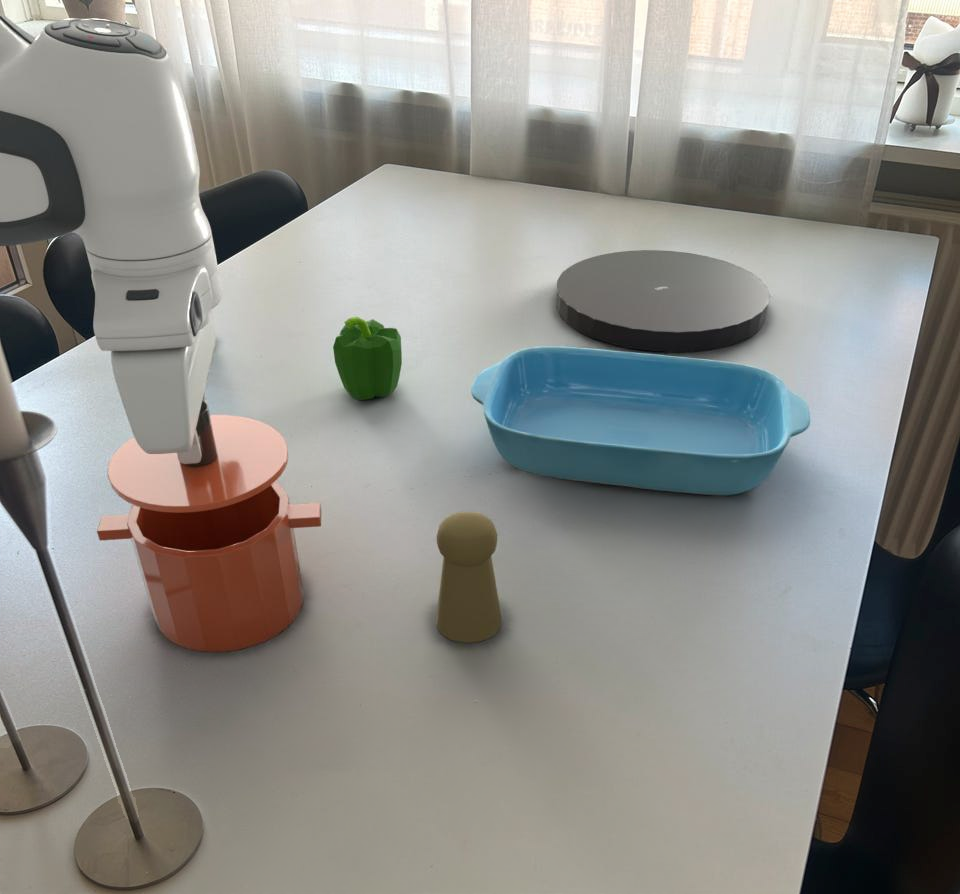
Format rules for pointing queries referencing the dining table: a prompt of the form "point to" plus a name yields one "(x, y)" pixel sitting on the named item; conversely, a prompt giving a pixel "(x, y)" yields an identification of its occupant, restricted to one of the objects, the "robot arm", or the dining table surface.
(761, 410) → the casserole dish
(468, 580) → the olive pawn piece
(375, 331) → the bell pepper
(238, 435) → the pot lid
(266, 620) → the pot
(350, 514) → the dining table surface
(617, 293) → the disc
